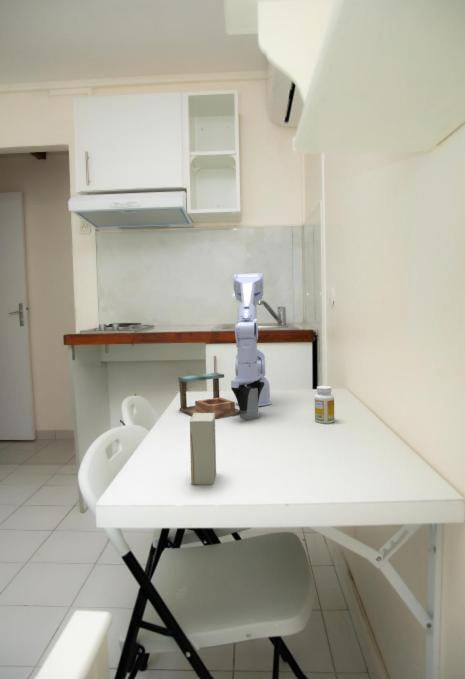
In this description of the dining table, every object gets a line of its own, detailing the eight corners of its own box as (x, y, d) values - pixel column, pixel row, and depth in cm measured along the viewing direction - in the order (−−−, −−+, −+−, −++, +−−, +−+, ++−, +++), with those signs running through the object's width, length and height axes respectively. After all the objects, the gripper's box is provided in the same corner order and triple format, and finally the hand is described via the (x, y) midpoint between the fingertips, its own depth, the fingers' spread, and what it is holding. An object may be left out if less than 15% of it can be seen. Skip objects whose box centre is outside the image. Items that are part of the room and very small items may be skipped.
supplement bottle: (333, 418, 125) (332, 385, 125) (335, 423, 120) (335, 388, 119) (314, 418, 126) (313, 385, 125) (315, 423, 121) (315, 388, 120)
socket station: (217, 405, 148) (216, 372, 147) (242, 414, 134) (241, 378, 133) (179, 411, 141) (178, 377, 140) (202, 421, 127) (200, 383, 126)
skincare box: (195, 472, 87) (192, 412, 86) (217, 472, 87) (215, 412, 86) (190, 485, 81) (188, 420, 80) (214, 485, 81) (212, 420, 80)
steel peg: (250, 415, 132) (250, 386, 131) (258, 418, 128) (257, 388, 128) (239, 417, 130) (238, 387, 129) (246, 420, 126) (246, 389, 126)
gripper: (249, 359, 136) (250, 402, 137) (221, 364, 124) (223, 411, 125) (269, 360, 132) (270, 404, 133) (242, 365, 120) (243, 414, 121)
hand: (248, 408), depth 129 cm, fingers closed on steel peg, 5 cm apart
